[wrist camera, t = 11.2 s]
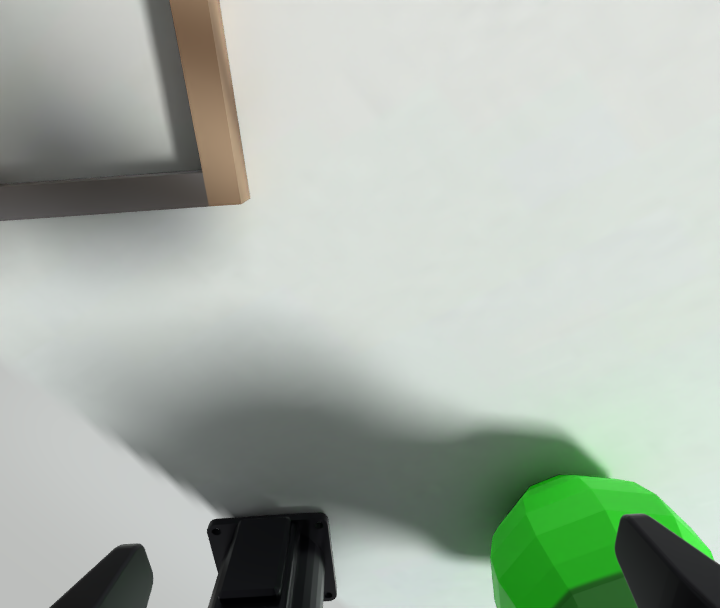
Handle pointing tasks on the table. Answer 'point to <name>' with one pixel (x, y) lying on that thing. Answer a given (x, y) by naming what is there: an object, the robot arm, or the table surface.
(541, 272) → the table surface
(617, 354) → the table surface
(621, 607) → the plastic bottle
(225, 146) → the rectangular wooden frame
